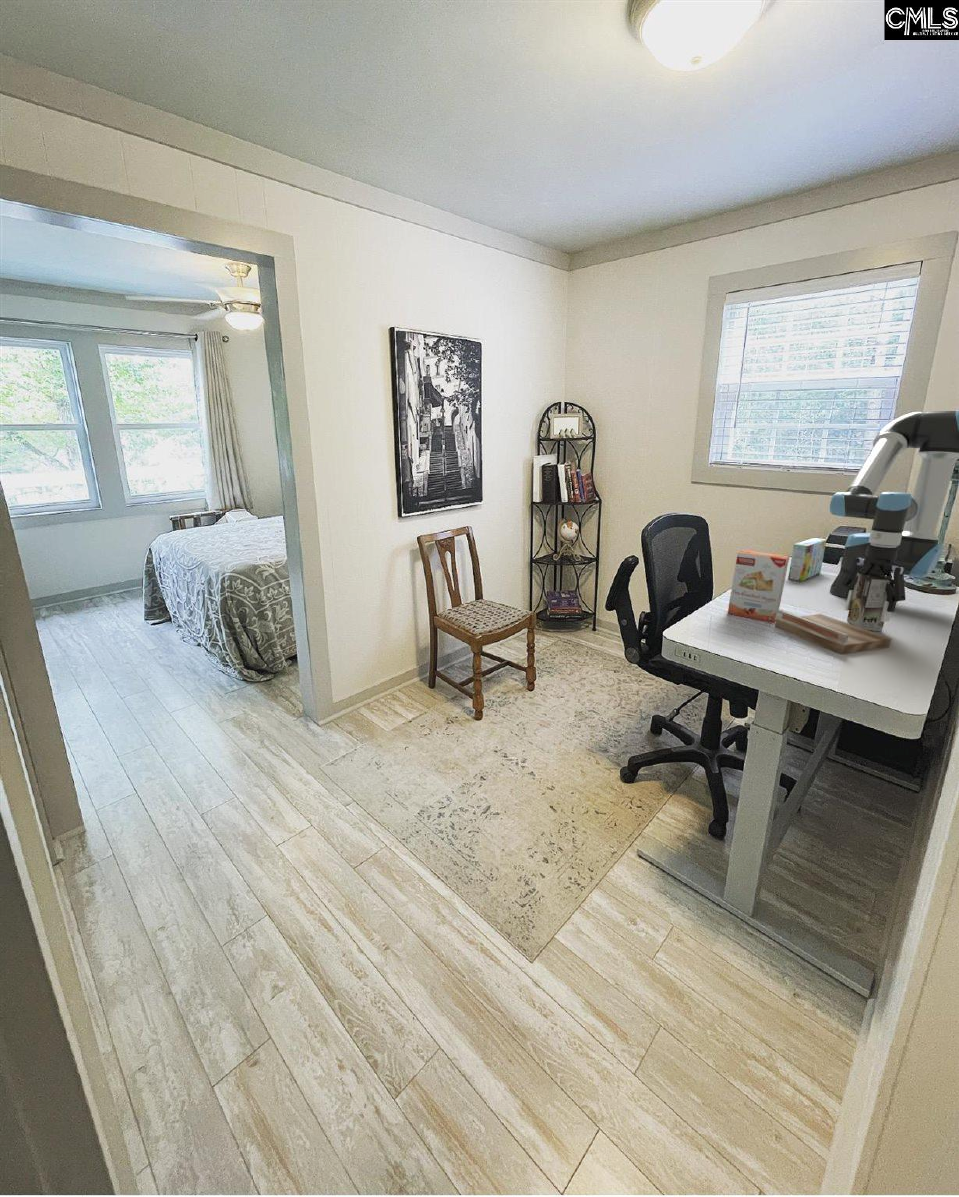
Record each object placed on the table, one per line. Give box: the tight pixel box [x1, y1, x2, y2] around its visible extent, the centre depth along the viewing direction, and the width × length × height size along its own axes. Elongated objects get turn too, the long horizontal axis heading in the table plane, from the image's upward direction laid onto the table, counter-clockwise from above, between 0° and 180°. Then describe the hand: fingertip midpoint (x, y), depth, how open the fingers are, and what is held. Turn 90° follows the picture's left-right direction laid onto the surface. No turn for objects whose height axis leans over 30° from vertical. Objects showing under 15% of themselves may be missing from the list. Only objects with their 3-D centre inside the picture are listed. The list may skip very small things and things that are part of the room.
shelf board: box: [774, 609, 892, 655], centre depth 154 cm, size 18×22×6 cm
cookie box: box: [846, 573, 894, 632], centre depth 161 cm, size 9×6×16 cm
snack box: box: [787, 537, 827, 582], centre depth 219 cm, size 21×6×15 cm, turn 130°
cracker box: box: [727, 549, 790, 623], centre depth 168 cm, size 14×6×21 cm, turn 52°
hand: (866, 615), depth 163 cm, fingers closed on cookie box, 10 cm apart
